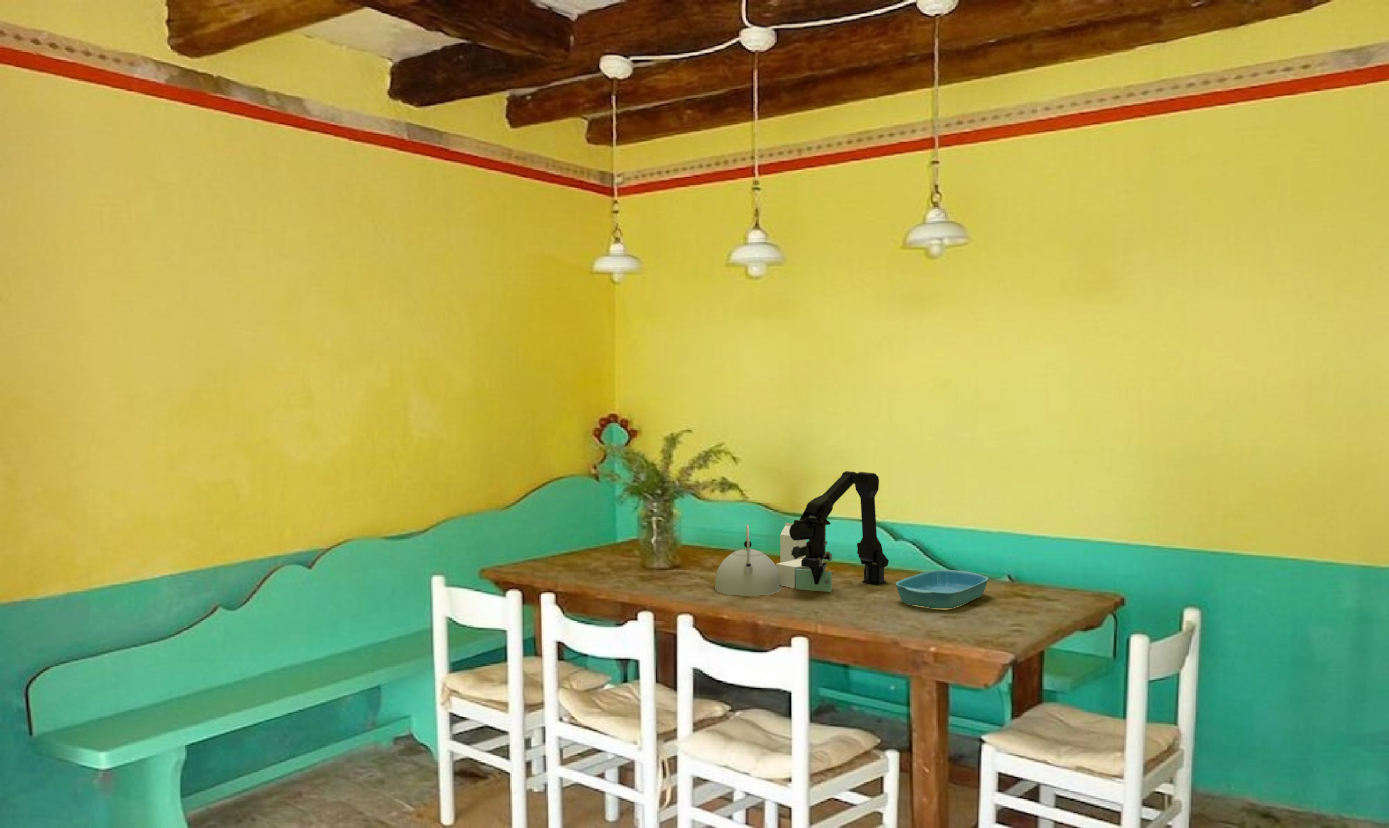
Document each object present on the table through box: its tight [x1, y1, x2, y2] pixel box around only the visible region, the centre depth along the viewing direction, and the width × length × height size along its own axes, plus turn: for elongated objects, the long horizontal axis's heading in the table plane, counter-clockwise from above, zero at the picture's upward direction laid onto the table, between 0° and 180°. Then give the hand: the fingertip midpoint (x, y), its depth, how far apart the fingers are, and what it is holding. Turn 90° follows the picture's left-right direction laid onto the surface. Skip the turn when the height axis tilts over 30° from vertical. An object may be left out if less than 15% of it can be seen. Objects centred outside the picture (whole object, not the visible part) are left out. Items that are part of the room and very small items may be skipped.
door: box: [795, 569, 833, 593], centre depth 341 cm, size 12×2×7 cm, turn 66°
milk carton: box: [779, 522, 807, 563], centre depth 370 cm, size 7×7×19 cm
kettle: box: [714, 524, 782, 597], centre depth 343 cm, size 25×23×22 cm
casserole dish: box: [895, 569, 989, 608], centre depth 327 cm, size 37×22×7 cm, turn 140°
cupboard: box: [775, 559, 811, 589], centre depth 353 cm, size 9×14×8 cm, turn 134°
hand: (816, 584), depth 338 cm, fingers closed
